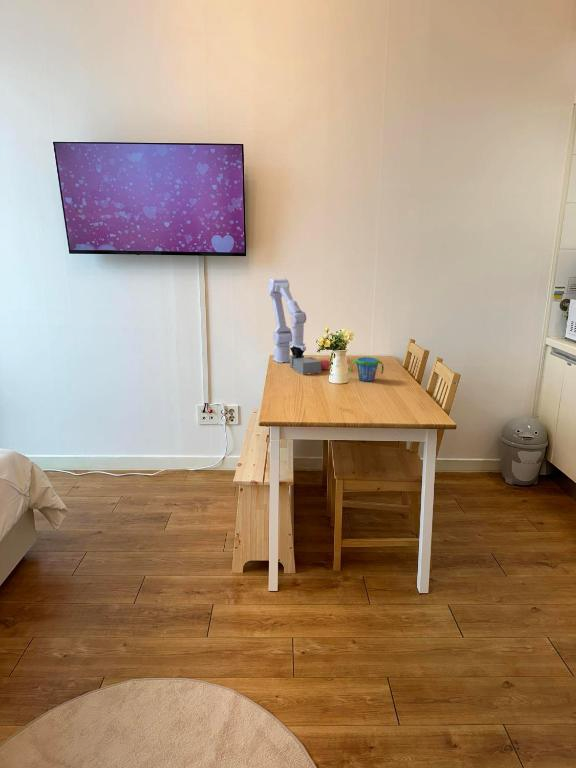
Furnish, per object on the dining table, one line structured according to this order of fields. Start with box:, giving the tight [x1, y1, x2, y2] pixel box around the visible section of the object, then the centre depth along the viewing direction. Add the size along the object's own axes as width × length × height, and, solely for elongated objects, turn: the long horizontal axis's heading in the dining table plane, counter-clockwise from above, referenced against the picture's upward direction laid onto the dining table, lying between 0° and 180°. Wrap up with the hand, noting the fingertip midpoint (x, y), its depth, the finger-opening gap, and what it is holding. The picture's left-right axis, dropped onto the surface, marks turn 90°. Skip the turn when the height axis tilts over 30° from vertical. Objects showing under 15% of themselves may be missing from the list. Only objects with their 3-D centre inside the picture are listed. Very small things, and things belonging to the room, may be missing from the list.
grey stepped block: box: [289, 354, 322, 375], centre depth 286 cm, size 17×10×6 cm, turn 27°
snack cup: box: [350, 356, 384, 382], centre depth 270 cm, size 16×10×10 cm
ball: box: [321, 359, 331, 371], centre depth 288 cm, size 5×5×5 cm
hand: (297, 361), depth 293 cm, fingers closed on grey stepped block
